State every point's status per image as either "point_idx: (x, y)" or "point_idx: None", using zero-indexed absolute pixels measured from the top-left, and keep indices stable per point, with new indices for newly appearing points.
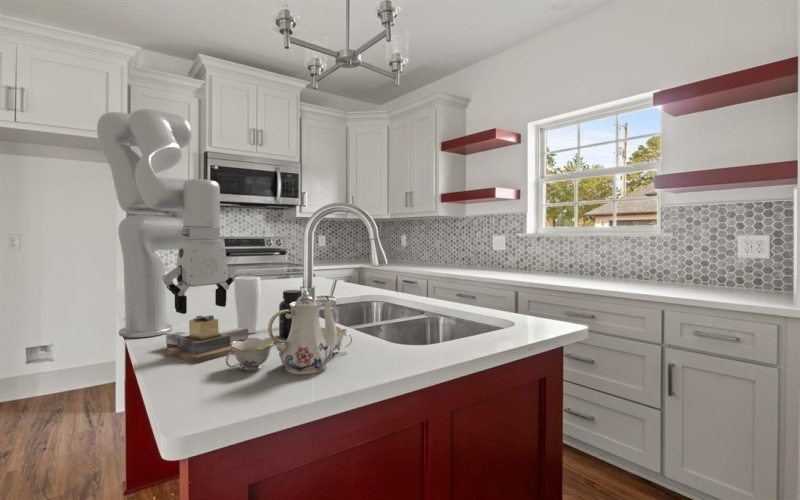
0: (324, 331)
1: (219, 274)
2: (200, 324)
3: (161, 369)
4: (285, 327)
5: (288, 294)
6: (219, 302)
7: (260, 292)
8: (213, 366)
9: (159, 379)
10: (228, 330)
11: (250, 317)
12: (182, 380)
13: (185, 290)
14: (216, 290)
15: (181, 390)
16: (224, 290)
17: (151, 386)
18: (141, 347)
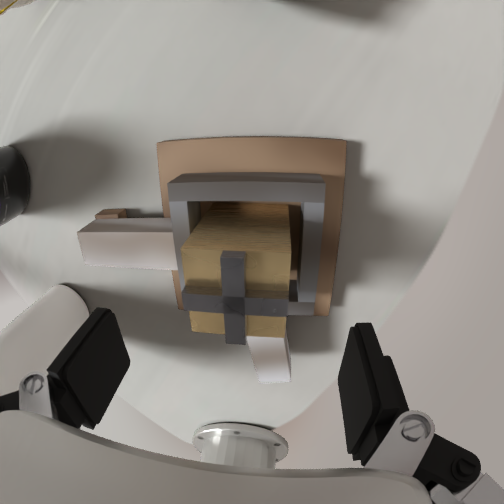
0: (1, 7)
1: (17, 487)
2: (288, 249)
3: (425, 186)
4: (4, 174)
5: None
6: (113, 348)
7: None
8: (327, 68)
9: (468, 117)
10: (133, 265)
11: (43, 311)
12: (443, 54)
13: (386, 449)
14: (95, 417)
15: (468, 11)
16: (54, 371)
17: (494, 94)
18: (315, 387)
